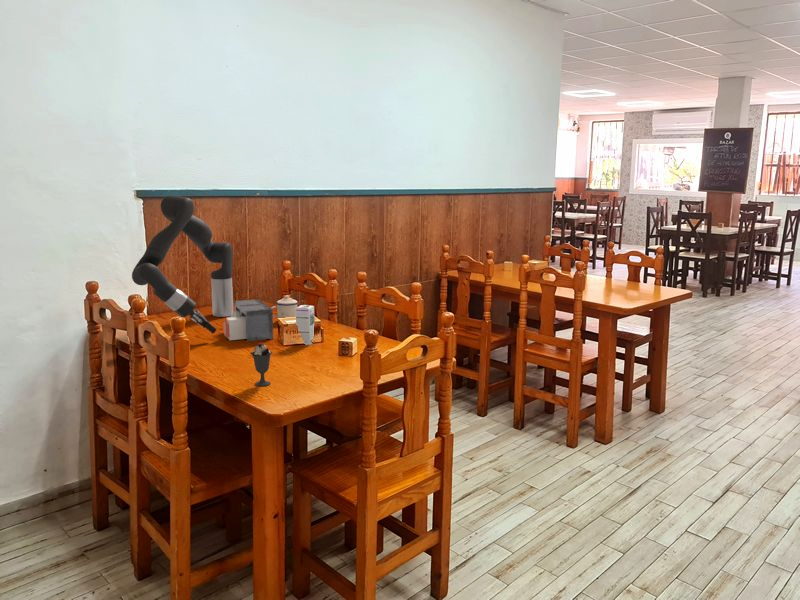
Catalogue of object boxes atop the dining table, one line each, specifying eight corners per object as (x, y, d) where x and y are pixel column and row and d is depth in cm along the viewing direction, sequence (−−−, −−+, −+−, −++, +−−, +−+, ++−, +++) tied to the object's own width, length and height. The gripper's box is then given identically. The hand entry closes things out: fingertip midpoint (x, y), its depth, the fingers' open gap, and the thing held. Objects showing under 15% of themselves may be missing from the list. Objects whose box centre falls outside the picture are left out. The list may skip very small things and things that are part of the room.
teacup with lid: (295, 318, 291) (295, 293, 289) (299, 323, 283) (299, 297, 280) (269, 320, 287) (268, 294, 285) (272, 325, 279) (271, 298, 277)
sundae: (253, 380, 205) (251, 334, 202) (274, 380, 205) (273, 334, 203) (250, 387, 198) (248, 340, 196) (272, 387, 199) (270, 340, 196)
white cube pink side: (224, 337, 256) (223, 317, 254) (247, 335, 260) (246, 316, 258) (226, 340, 251) (225, 320, 250) (250, 338, 255) (249, 318, 253)
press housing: (235, 328, 272) (234, 300, 269) (259, 326, 276) (258, 298, 274) (247, 341, 251) (246, 311, 249) (273, 339, 256) (272, 309, 253)
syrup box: (310, 345, 247) (309, 308, 244) (295, 344, 248) (295, 307, 246) (315, 341, 253) (314, 305, 250) (301, 340, 254) (300, 304, 251)
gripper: (189, 298, 238) (224, 327, 246) (184, 292, 250) (218, 320, 258) (175, 313, 237) (210, 342, 245) (170, 306, 249) (205, 334, 256)
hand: (214, 331), depth 251 cm, fingers closed
